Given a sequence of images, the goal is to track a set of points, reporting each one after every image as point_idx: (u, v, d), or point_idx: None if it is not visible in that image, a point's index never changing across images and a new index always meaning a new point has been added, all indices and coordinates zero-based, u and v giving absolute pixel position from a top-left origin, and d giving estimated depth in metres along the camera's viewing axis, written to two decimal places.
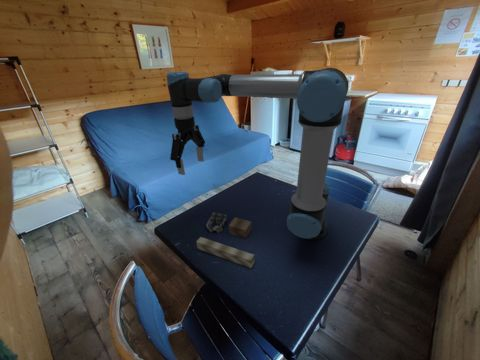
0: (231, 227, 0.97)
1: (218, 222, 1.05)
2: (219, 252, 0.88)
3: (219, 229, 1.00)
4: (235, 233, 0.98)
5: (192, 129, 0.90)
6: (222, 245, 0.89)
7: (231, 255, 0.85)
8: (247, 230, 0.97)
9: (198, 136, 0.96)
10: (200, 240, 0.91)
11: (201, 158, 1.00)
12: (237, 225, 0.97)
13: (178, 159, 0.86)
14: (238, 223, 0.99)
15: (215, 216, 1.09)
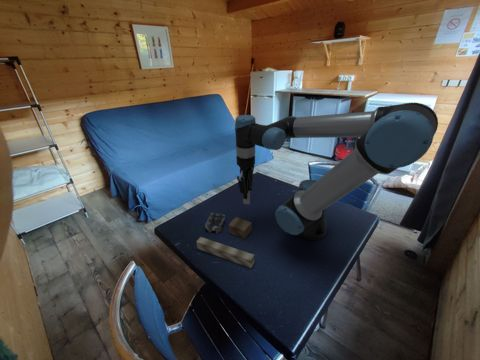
0: (231, 226, 0.98)
1: (217, 222, 1.05)
2: (219, 252, 0.88)
3: (218, 229, 1.00)
4: (234, 233, 0.98)
5: None
6: (222, 245, 0.89)
7: (231, 255, 0.85)
8: (246, 231, 0.96)
9: (249, 176, 0.99)
10: (200, 240, 0.91)
11: None
12: (237, 225, 0.97)
13: (246, 193, 0.97)
14: (238, 223, 0.99)
15: (213, 216, 1.09)
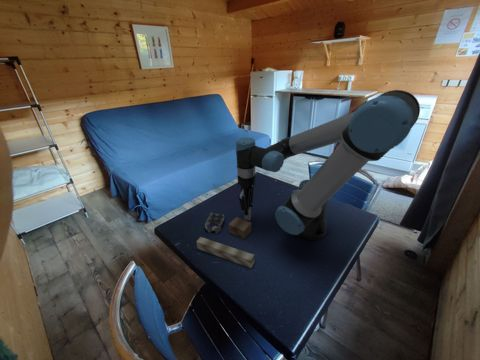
0: (231, 226, 0.98)
1: (216, 222, 1.05)
2: (219, 252, 0.88)
3: (218, 229, 1.00)
4: (234, 233, 0.99)
5: None
6: (222, 245, 0.89)
7: (231, 255, 0.85)
8: (246, 231, 0.96)
9: (250, 193, 1.03)
10: (200, 240, 0.91)
11: None
12: (237, 225, 0.98)
13: (247, 209, 1.01)
14: (238, 223, 0.99)
15: (213, 216, 1.09)
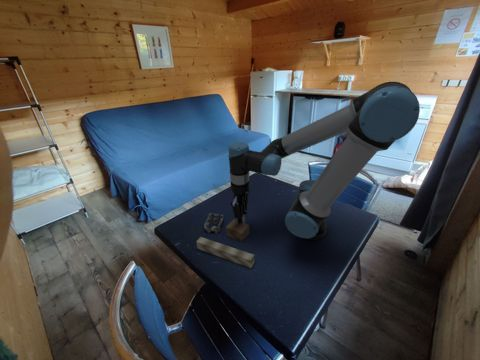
0: (228, 229, 0.96)
1: (215, 222, 1.05)
2: (219, 252, 0.88)
3: (217, 229, 1.00)
4: (231, 235, 0.97)
5: None
6: (222, 245, 0.89)
7: (231, 255, 0.85)
8: (244, 233, 0.95)
9: None
10: (200, 240, 0.91)
11: None
12: (234, 227, 0.96)
13: (241, 217, 0.96)
14: (235, 225, 0.97)
15: (211, 217, 1.09)
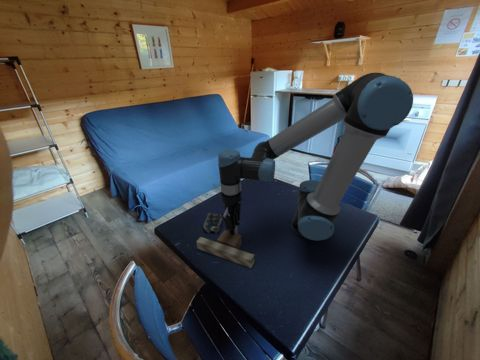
0: (219, 241, 0.90)
1: (214, 222, 1.05)
2: (219, 252, 0.88)
3: (217, 229, 1.00)
4: None
5: None
6: (222, 245, 0.89)
7: (231, 255, 0.85)
8: (237, 245, 0.89)
9: (237, 210, 0.92)
10: (200, 240, 0.91)
11: None
12: (226, 239, 0.90)
13: (233, 228, 0.90)
14: (227, 237, 0.91)
15: (210, 217, 1.09)
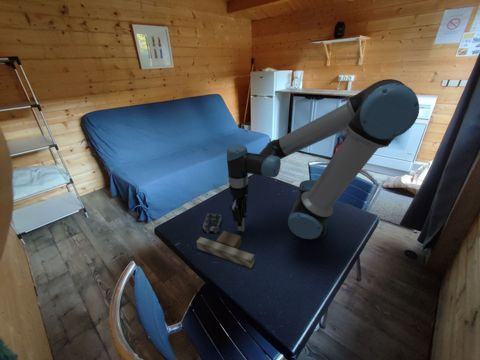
0: (219, 242, 0.90)
1: (214, 222, 1.05)
2: (219, 252, 0.88)
3: (216, 229, 1.00)
4: None
5: None
6: (222, 245, 0.89)
7: (231, 255, 0.85)
8: (236, 245, 0.89)
9: (243, 203, 0.97)
10: (200, 240, 0.91)
11: None
12: (225, 240, 0.90)
13: (241, 220, 0.95)
14: (226, 237, 0.91)
15: (209, 217, 1.09)
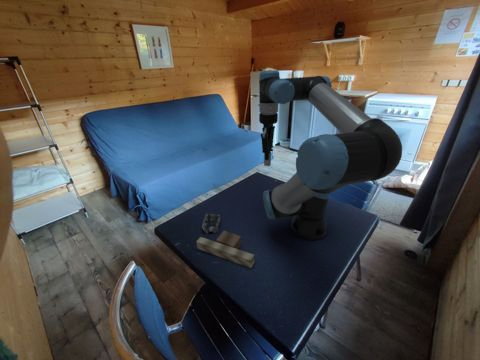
0: (219, 242, 0.90)
1: (213, 223, 1.05)
2: (219, 252, 0.88)
3: (215, 229, 1.00)
4: None
5: (272, 124, 0.96)
6: (222, 245, 0.89)
7: (231, 255, 0.85)
8: (236, 246, 0.89)
9: None
10: (200, 240, 0.91)
11: None
12: (225, 240, 0.90)
13: (268, 152, 0.98)
14: (226, 237, 0.91)
15: (208, 217, 1.09)
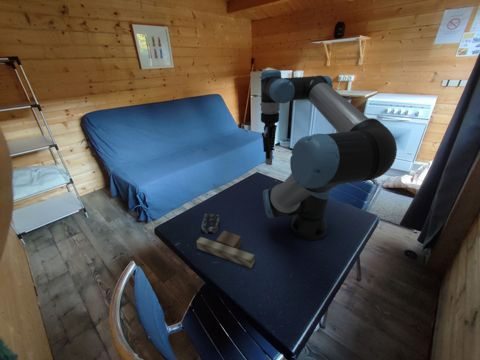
0: (219, 242, 0.90)
1: (212, 223, 1.05)
2: (219, 252, 0.88)
3: (215, 229, 1.00)
4: None
5: (274, 123, 0.97)
6: (222, 245, 0.89)
7: (231, 255, 0.85)
8: (236, 246, 0.89)
9: (272, 136, 1.01)
10: (200, 240, 0.91)
11: None
12: (225, 240, 0.90)
13: (270, 152, 0.99)
14: (226, 237, 0.91)
15: (207, 217, 1.08)
